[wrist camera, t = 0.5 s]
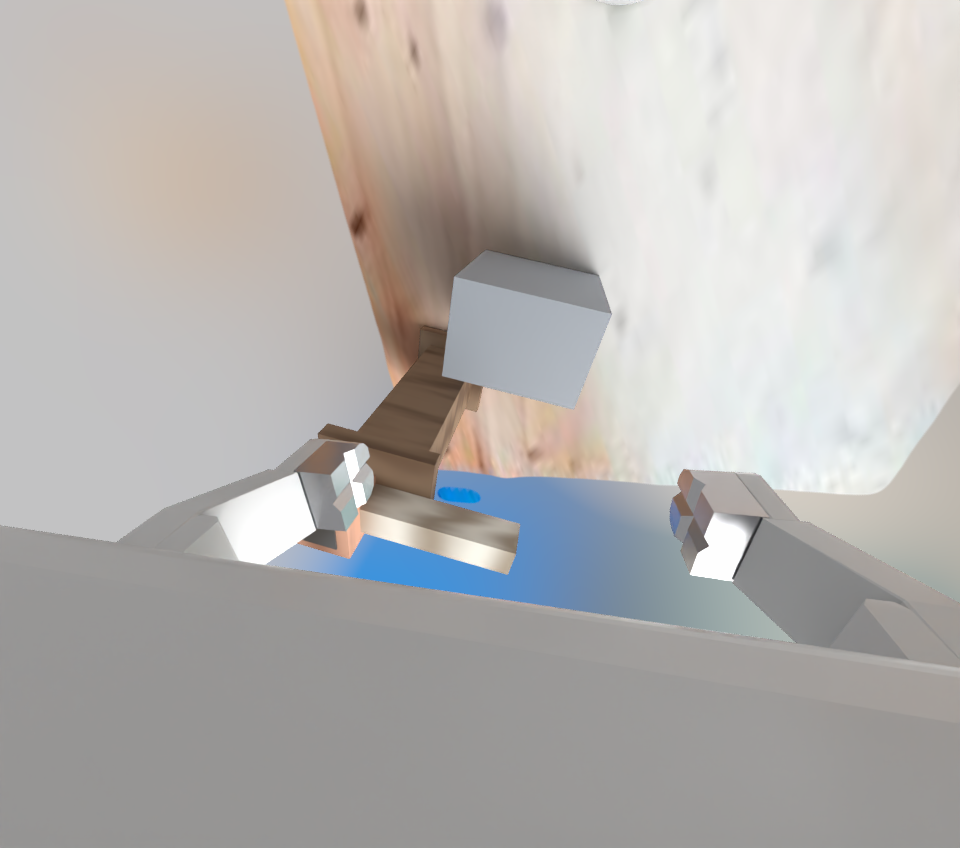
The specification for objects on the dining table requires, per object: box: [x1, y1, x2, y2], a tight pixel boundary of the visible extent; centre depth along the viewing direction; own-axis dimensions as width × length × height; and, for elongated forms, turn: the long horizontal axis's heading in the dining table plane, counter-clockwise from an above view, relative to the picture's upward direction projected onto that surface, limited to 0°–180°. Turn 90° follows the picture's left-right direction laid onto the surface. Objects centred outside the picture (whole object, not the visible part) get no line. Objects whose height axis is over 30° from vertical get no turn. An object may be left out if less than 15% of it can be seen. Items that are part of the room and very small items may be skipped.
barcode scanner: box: [298, 475, 520, 574], centre depth 29 cm, size 18×5×5 cm, turn 80°
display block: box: [442, 250, 612, 410], centre depth 39 cm, size 10×14×15 cm
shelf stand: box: [318, 326, 483, 500], centre depth 42 cm, size 11×10×26 cm
